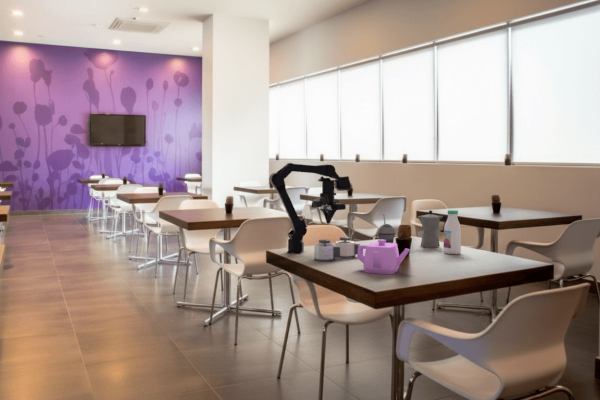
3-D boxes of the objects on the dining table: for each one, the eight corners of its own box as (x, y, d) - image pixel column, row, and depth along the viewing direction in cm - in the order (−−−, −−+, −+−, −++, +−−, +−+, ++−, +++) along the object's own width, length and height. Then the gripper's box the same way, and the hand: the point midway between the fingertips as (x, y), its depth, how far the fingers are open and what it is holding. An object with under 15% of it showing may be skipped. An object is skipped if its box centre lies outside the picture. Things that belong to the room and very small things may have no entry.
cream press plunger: (338, 251, 256) (338, 238, 256) (340, 249, 261) (340, 236, 260) (349, 252, 255) (349, 238, 254) (351, 250, 259) (351, 237, 259)
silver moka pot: (311, 260, 247) (311, 246, 247) (317, 257, 256) (317, 242, 256) (337, 262, 244) (337, 247, 244) (342, 258, 253) (342, 243, 252)
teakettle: (387, 265, 238) (388, 235, 237) (412, 272, 223) (412, 241, 222) (352, 268, 231) (352, 238, 230) (374, 276, 216) (374, 244, 215)
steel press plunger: (317, 254, 249) (317, 240, 248) (320, 252, 253) (320, 239, 253) (328, 255, 247) (328, 241, 247) (331, 253, 252) (331, 239, 251)
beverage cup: (394, 261, 245) (394, 215, 244) (377, 260, 247) (377, 214, 245) (395, 258, 253) (395, 213, 251) (378, 257, 254) (378, 213, 252)
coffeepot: (415, 247, 282) (415, 210, 281) (418, 244, 291) (418, 209, 290) (447, 248, 277) (448, 211, 275) (449, 245, 286) (449, 210, 284)
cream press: (332, 257, 255) (332, 243, 254) (337, 254, 264) (337, 240, 263) (358, 258, 252) (358, 244, 251) (361, 255, 261) (362, 241, 260)
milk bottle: (459, 251, 268) (459, 209, 267) (462, 254, 261) (462, 211, 259) (442, 251, 269) (442, 209, 267) (444, 254, 261) (445, 210, 260)
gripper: (302, 190, 274) (302, 223, 275) (328, 192, 259) (328, 226, 260) (320, 189, 280) (320, 221, 282) (346, 191, 266) (346, 224, 267)
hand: (328, 223), depth 272 cm, fingers closed
